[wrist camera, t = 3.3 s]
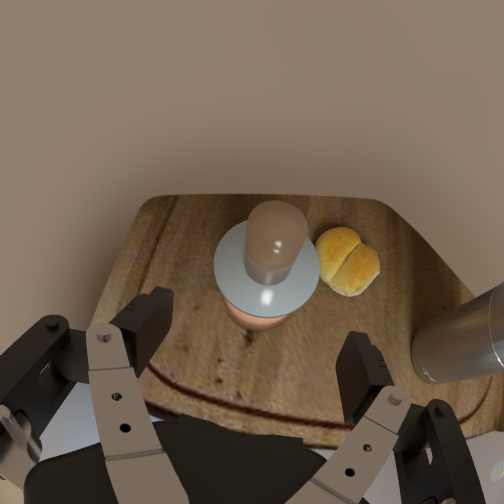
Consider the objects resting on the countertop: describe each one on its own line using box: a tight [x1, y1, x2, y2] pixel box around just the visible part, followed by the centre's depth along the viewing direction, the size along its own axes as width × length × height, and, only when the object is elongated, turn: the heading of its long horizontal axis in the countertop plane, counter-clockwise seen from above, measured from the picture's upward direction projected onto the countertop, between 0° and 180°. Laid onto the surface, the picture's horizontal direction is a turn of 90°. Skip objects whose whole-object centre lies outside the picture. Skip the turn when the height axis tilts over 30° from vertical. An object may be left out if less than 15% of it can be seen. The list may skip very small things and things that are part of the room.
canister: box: [223, 296, 289, 332], centre depth 29 cm, size 8×8×9 cm
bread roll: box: [315, 227, 380, 296], centre depth 34 cm, size 8×9×4 cm
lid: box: [214, 200, 320, 318], centre depth 22 cm, size 9×9×8 cm
